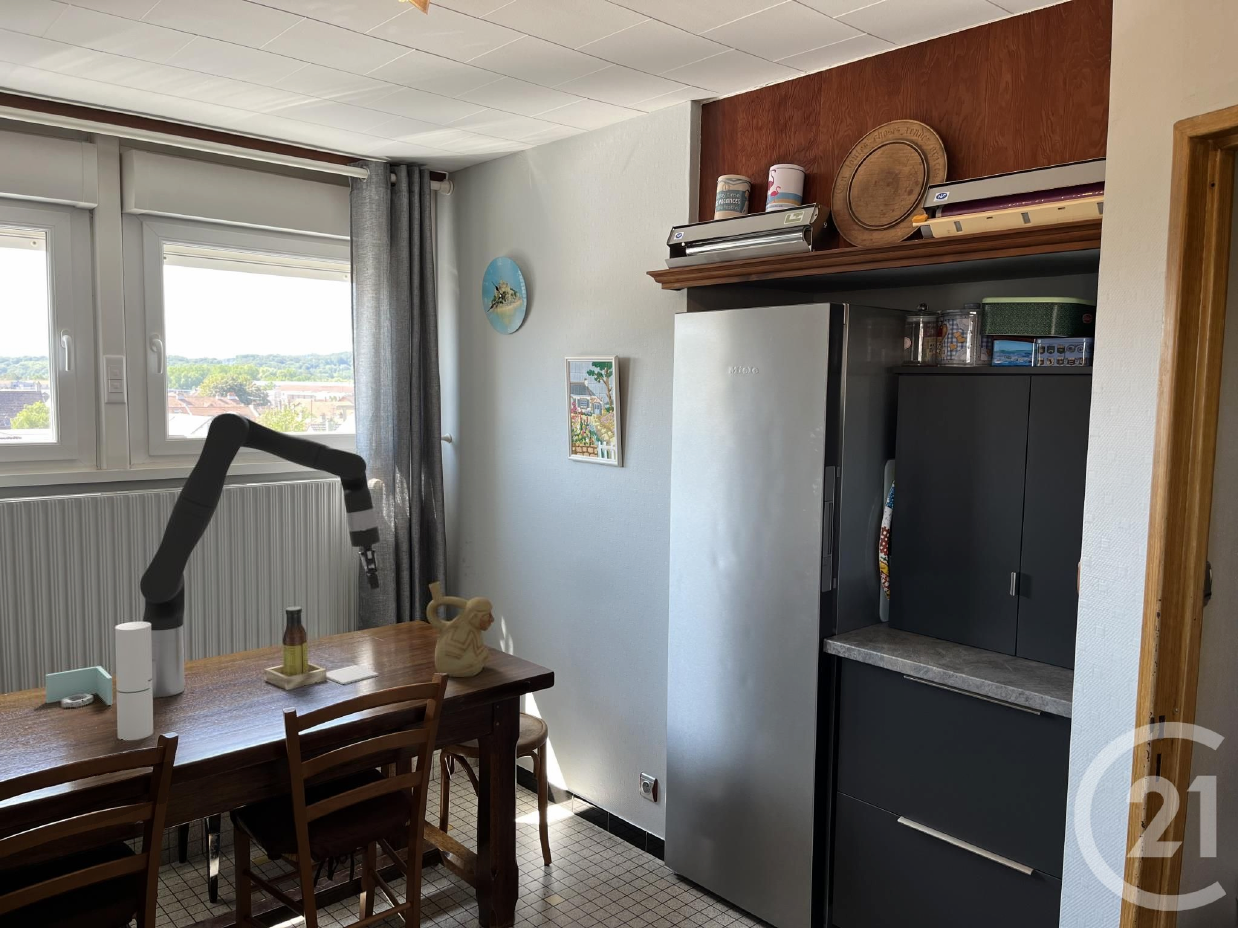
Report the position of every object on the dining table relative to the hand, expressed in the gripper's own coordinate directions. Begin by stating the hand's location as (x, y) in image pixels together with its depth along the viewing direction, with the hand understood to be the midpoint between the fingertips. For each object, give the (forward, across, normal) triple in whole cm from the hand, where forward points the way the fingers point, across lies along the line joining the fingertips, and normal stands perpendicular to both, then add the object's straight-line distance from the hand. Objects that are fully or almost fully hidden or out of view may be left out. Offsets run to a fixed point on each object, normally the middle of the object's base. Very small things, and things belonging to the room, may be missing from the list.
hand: (373, 586), depth 249 cm
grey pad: (+24, -7, -10) cm, 27 cm away
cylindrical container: (+18, +24, -58) cm, 65 cm away
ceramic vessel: (+29, -4, +19) cm, 35 cm away
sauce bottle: (+22, -7, -24) cm, 33 cm away
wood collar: (+22, -7, -24) cm, 33 cm away
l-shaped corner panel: (+14, -2, -74) cm, 75 cm away
